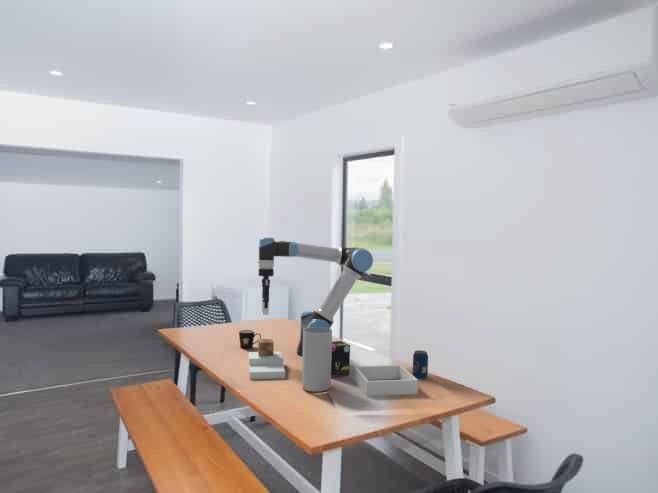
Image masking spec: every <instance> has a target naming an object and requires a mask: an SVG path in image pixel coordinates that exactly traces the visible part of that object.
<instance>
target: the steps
mask: <svg viewBox="0 0 658 493" xmlns="http://www.w3.org/2000/svg"><path fill="white" fill-rule="evenodd" d="M247 361H248V364H247V365H248V374H249V375H248V376H249V380H270V379H272V380H274V379H275V380H276V379H277V380H278V379H286V370H285V366H284V357H283V354H282V351H273V357H259V356H258V351H249V352H248V360H247Z"/></svg>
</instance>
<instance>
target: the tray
mask: <svg viewBox="0 0 658 493" xmlns="http://www.w3.org/2000/svg"><path fill="white" fill-rule="evenodd" d="M352 375H353V377H352V379H353V381H354V382H355V383H356V385H357V386H358V387H359V388H360V390H361V391H362V392H363V394H364V395H365V396H366V397H378V396H379V397H380V396H381V397H382V396H383V397H384V396H402V395H403V396H405V395H406V396H407V395H418V394H419V379H417V378H415V377H414V376H413V373H411V372H409V371H408V370H407V369H406V368H405V367H404V366H402V365H401V364H391V365H389V364H388V365H360V366H359V365H354V366H353V374H352ZM392 379H393V380H392Z"/></svg>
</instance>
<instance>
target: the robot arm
mask: <svg viewBox="0 0 658 493" xmlns="http://www.w3.org/2000/svg"><path fill="white" fill-rule="evenodd" d="M275 257H285V258H288V257H289V258H292V257H294V258H301V259H302V258H303V259H309V260H316V261H323V262H332V263H336V265H338V266H339V265H340V266H342V269H343V270H342V271H341V273H340V275H339V276H338V278H337V279H336V281H335V283H334V284H333V286H332V288H331V289H330V291H329V292H328V294H327V295H326V297H325V299H324V300H323V302H322V304H321V305H320V307H319V308H317V309H315V310H313V311H312V310H310V311H302V312H301V313H300V329H299V330H300V336H299V337H300V338H299V341H298V344H297V347H296V354H297V355H298V356H303V329H305V328H309V327H324V328H329V329H331V327H332V326H333V324H334V321H335V320H334V317H335V315H336V314H337V312H338V311H339V309H340V307H342V306H341V305H342V304H343V302H344V301H345V300H346V298H347V296H348V294H350V291H351V289H353V287H354V285H355V283H356V281H357V280H358V279H361V278H362V277H363V275H364V274H365V272H367V271H368V270H370V269H371V268H372V266H373V263H374V258H373V254H372V253H371V252H370V251H369V250H367V249H365V248H362V247H341V246H340V247H338V248H336V247H335V248H334V247H329V246H322V245H313V244H307V243H299V242H296V241H295V242H294V241H285V240H280V241H275V238H274V237H260V238H259V244H258V261H257V264H258V276H259V277H262V279H261V288H262V290H261V292H262V295H261V296H262V297H261V299H262V300H261V301H262V302H261V312H262V315H263V316H269V315H270V314H269V310H270V309H269V308H270V306H269V305H270V283H271V280H270V279H269V278H270V277H273V276H274V274H275V272H274V268H275Z"/></svg>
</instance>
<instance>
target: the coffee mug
mask: <svg viewBox="0 0 658 493" xmlns="http://www.w3.org/2000/svg"><path fill="white" fill-rule="evenodd" d="M256 335H258V336H259V339H261V338H262V335H261V334H260V333H255V330H253V329H239V331H238V336H239V345H240V346H239V347H240V349H244V350H250V349H252V348H253V345H255V344H256V343H258V340H256V341H255V342H254V338H255V337H256Z"/></svg>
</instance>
